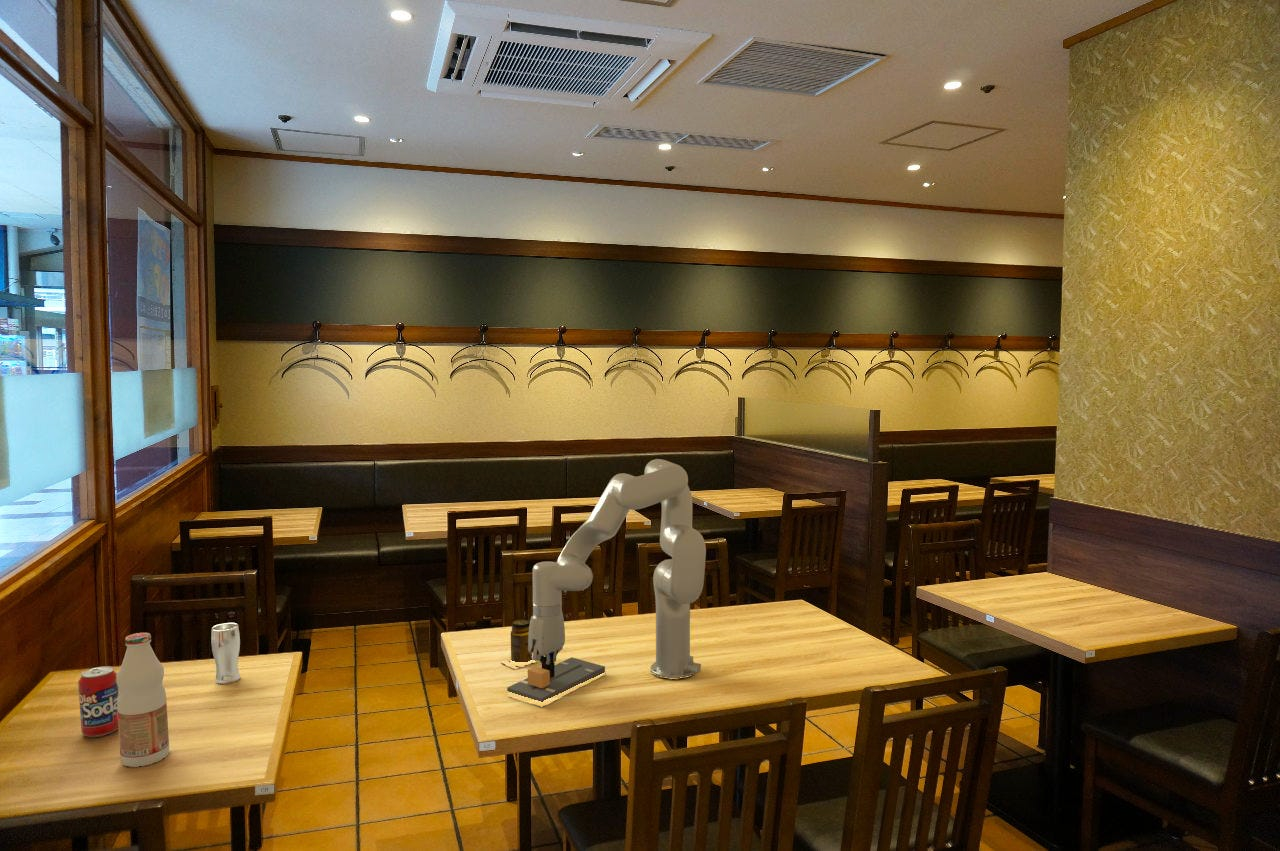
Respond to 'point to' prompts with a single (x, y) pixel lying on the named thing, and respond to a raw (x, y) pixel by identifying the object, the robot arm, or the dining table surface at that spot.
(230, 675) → the beer glass
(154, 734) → the fruit juice
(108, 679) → the soda can
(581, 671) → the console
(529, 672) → the fader tab
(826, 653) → the dining table surface
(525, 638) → the condiment
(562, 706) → the dining table surface
